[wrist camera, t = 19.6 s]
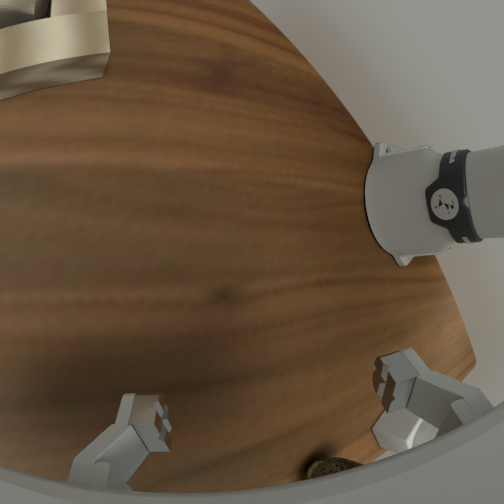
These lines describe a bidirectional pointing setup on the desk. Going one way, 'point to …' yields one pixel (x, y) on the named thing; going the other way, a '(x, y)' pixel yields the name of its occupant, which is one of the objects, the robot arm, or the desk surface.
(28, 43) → the square nut
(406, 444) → the medicine bottle
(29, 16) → the steel peg
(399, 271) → the desk surface
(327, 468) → the cup
